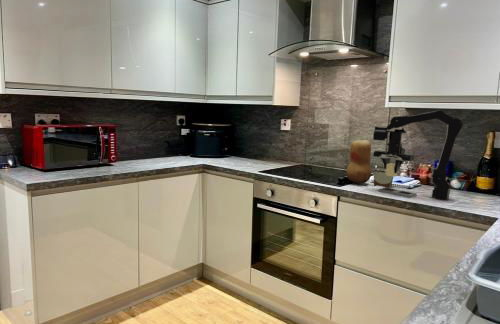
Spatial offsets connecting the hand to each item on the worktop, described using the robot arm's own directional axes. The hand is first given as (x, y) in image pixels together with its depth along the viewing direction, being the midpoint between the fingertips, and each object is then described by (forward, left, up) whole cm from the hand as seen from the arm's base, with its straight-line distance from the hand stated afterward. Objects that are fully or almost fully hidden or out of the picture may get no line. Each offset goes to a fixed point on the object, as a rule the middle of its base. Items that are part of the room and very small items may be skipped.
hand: (391, 172), depth 187 cm
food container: (+10, -14, -11) cm, 20 cm away
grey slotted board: (-4, 0, -11) cm, 12 cm away
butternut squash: (+24, -10, -11) cm, 28 cm away
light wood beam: (0, 0, -2) cm, 2 cm away
